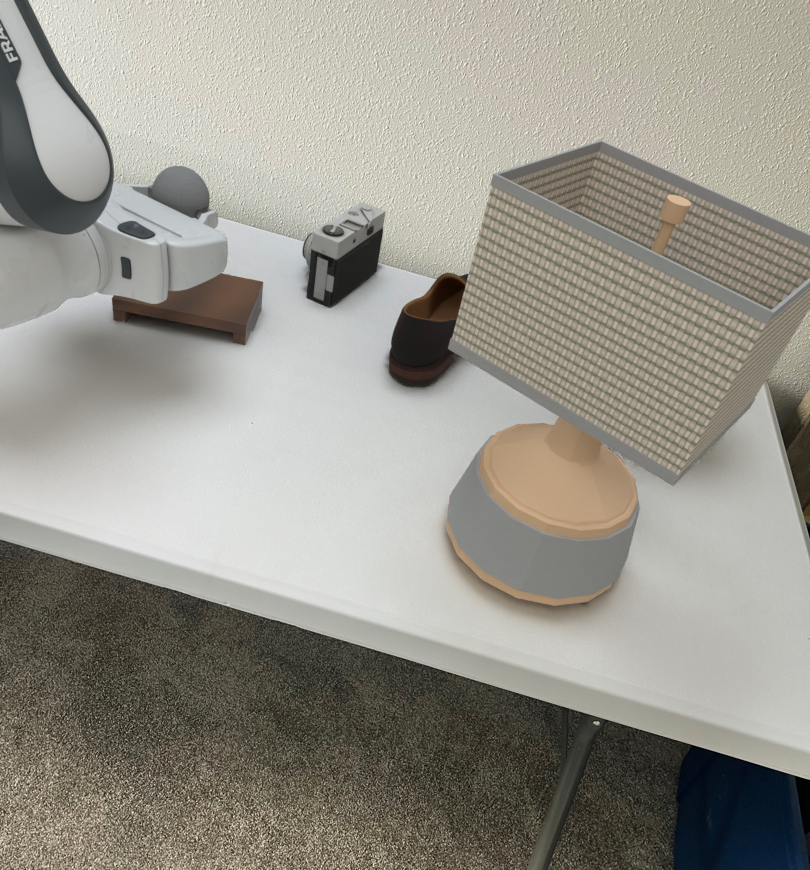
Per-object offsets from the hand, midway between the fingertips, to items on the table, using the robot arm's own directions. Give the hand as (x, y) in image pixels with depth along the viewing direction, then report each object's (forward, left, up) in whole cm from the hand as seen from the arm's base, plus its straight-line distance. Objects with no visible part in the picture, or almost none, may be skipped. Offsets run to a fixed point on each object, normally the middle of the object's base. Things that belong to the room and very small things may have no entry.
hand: (187, 204), depth 85 cm
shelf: (-1, +5, -17) cm, 17 cm away
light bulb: (0, -1, -6) cm, 6 cm away
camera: (+15, +22, -17) cm, 31 cm away
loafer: (+32, +10, -17) cm, 38 cm away
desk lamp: (+42, -26, -17) cm, 53 cm away
